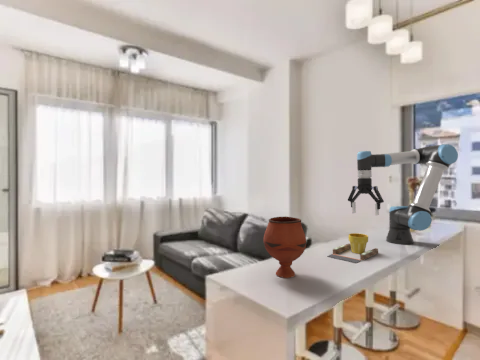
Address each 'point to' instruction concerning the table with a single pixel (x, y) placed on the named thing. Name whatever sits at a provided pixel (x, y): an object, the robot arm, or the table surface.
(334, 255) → the mat
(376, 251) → the pair of brown bars
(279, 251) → the goblet
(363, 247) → the plant pot
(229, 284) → the table surface
